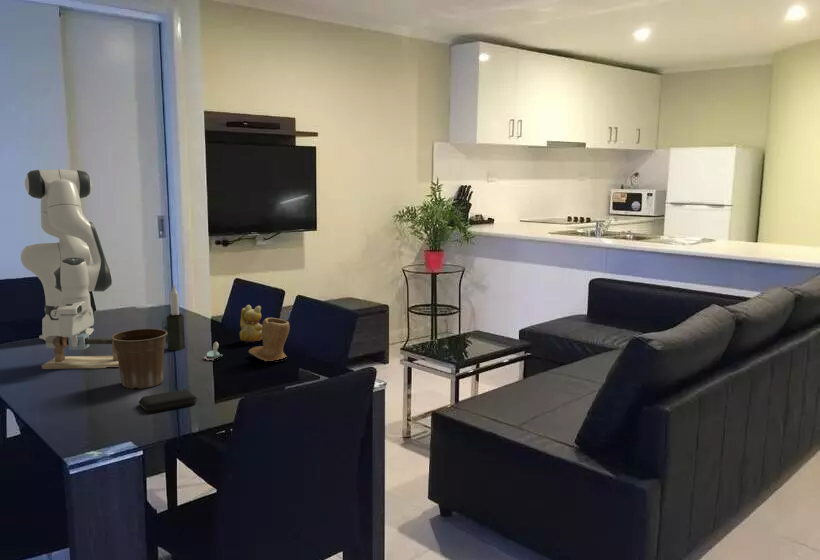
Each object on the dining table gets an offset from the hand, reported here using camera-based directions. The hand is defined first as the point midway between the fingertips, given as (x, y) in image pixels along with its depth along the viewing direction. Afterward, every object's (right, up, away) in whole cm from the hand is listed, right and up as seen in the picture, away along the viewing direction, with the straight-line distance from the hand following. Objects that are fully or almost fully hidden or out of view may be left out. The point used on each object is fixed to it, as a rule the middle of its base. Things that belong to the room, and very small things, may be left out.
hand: (79, 344), depth 230 cm
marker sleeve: (0, -1, 0) cm, 1 cm away
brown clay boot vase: (+65, -7, +10) cm, 66 cm away
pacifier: (+44, -7, +9) cm, 45 cm away
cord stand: (+3, -7, +1) cm, 8 cm away
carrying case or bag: (+46, -14, -40) cm, 63 cm away
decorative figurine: (+52, -3, +33) cm, 62 cm away
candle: (+26, -4, +23) cm, 35 cm away
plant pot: (+31, -11, -21) cm, 39 cm away
